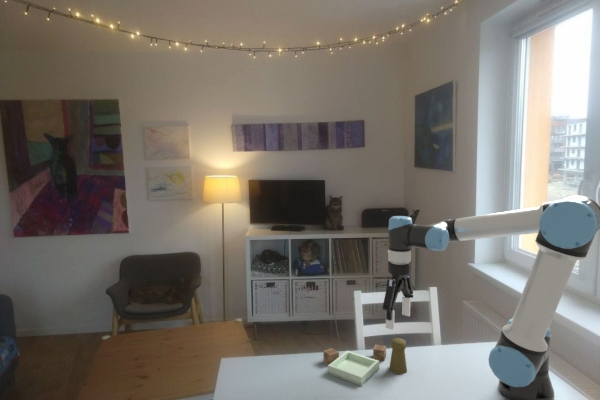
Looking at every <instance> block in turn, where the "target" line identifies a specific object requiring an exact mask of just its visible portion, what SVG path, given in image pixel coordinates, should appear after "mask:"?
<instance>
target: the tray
mask: <svg viewBox="0 0 600 400" xmlns="http://www.w3.org/2000/svg"><path fill="white" fill-rule="evenodd" d="M379 370H380V360H375V359H373V358H371V357H368V356H365V355H362V354H359V353H357V352H352V351H349V350H346V351H345V352H343V353H342V354H341V355H339V357H338V358H337V359H336V360H334V361H333V362H332V363H331V364H329V365H328V364H327V374H329V376H330V375H331V376H334V377H336V378H339V379H341V380H344V381H347V382H350V383H352V384H354V385H358V386H361V387H362V386H363V385H365V383H367V381H368V380H370V379H371V378H372V377H373V376H374V375H375V373H377V372H378V371H379Z"/></svg>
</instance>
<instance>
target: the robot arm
mask: <svg viewBox="0 0 600 400" xmlns="http://www.w3.org/2000/svg"><path fill="white" fill-rule="evenodd" d="M599 230H600V204H598V203H597V202H596V201H595V200H594V199H592V198H590V197H588V196H584V195H577V194H576V195H569V196H565V197H563V198H561V199H556V200H552V201H546V202H542V204H541V205H540V206H537V207H529V208H523V209H516V210H508V211H501V212H495V213H488V214H481V215H474V216H473V215H472V216H467V217H460V218H453V219H450V218H449V219H448V218H447V219H442V220H440V221H438V222H434V223H431V224H428V225H425V224H415V223H413V220H412V217H410V216H405V215H393V216H391V217H390V218H389V219H388V229H387V231H388V249H387V251H386V252H387V253H388V254H387V255H388V258H387V260H388V262H387V272H388V273H389V274H390V275H391V279H387V282H386V290H385V294H384V300H383V303H382V310H384V311H385V329H390V330H391V331H393V330H395V311H396V310H395V309H394V308H395V305H396V302H397V301H396V300H397V299H398V295H399V293H402V299H401V300H402V301H401V315H402V316H406V317H411V299H413V298H414V290H413V284H412V280H411V271H412V270H411V269H412V268H411V266H412V265H411V262H412V248H417V249H422V250H423V249H424V250H430V251H432V252H435V251H438V252H443V251H445V250H447V248H448V246H449V243H454V242H455V243H456V242H460V241H461V242H462V241H471V240H480V239H489V238H490V239H491V238H500V237H501V238H502V237H511V236H521V235H529V234H537V235H536V238H535V243H536V245H537V246H538V251H537V254H536V257H535V259H534V261H533V263H532V264H533V265H532V267H531V270H530V272H529V275H528V277H527V280H526V282H525V284H524V285H525V286H524V288H523V290H522V294H521V296H520V299H519V301H518V303H517V306H516V309H515V312H514V315H513V316H512V318H510V319H509V320H508V321H507V324H505V325H504V326H502V328H501V331H500V334H499V336H498V339H497V341H496V344H495V346H494V347H493V348H492V349H491V350H490V353H489V354H488V355H489V356H488V364H489V365H488V366H489V368H490V370H491V372H492V373H493V375H494V376H495V377H496V378H497V379H498V389H499V391H500V393H501V394H502V395H503V396H504V397H506V398H507V399H509V400H555V391H554V388H553V385H552V381H551V378H550V373H549V371H550V370H549V369H550V354H551V339H552V332H551V331H552V330H551V323H552V322H553V319H554V316H555V314H556V311H557V308H558V306H559V304H560V301H561V300H562V297H563V294H564V292H565V289H566V287H567V285H568V282H569V280H570V277H571V274H572V272H573V270H574V267H575V265H576V263H577V262H578V261H580V260H584V259H585V258H586V257H587V255H588V253H589V251H590V247H591V246H592V243H593V241H594V239H595V237H596V234H597V232H598V231H599Z"/></svg>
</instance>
